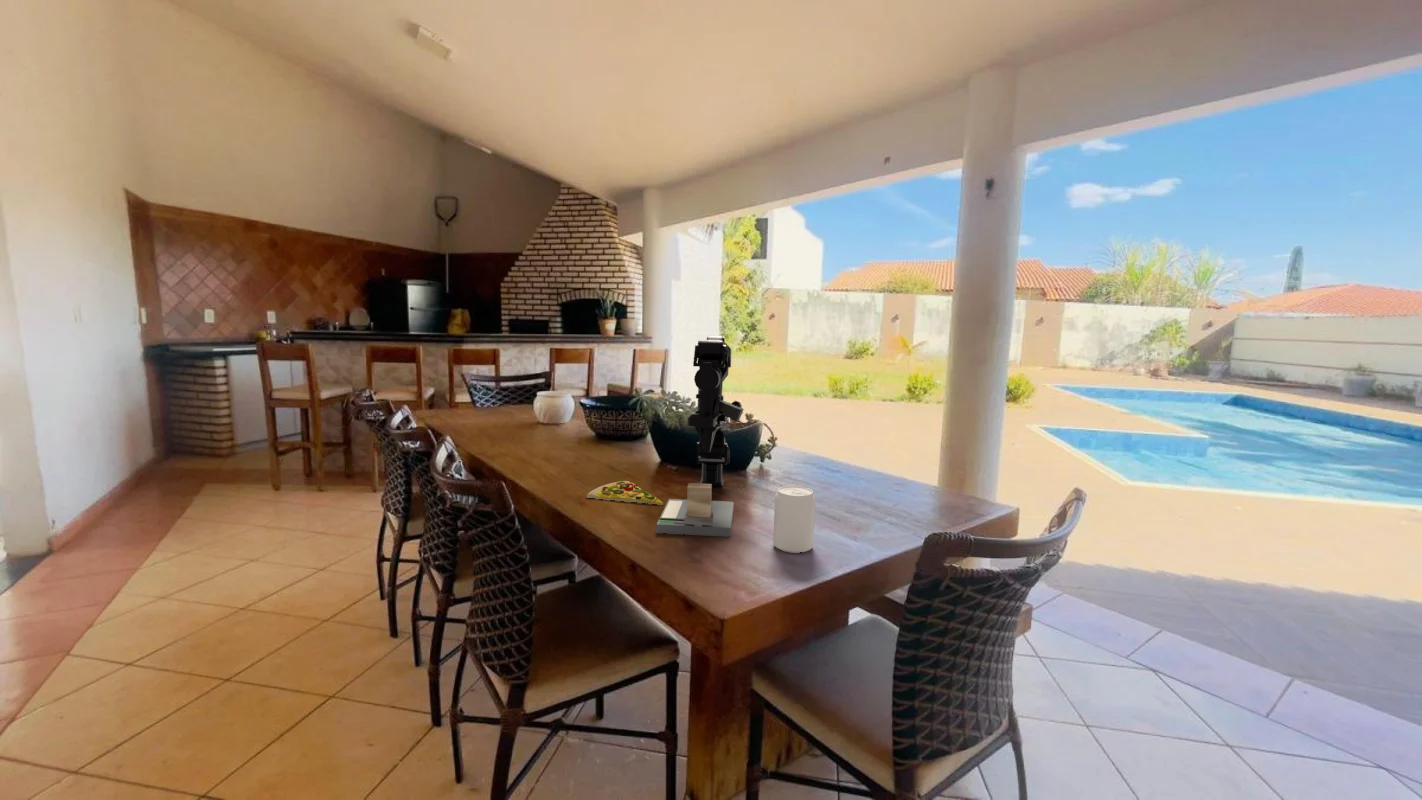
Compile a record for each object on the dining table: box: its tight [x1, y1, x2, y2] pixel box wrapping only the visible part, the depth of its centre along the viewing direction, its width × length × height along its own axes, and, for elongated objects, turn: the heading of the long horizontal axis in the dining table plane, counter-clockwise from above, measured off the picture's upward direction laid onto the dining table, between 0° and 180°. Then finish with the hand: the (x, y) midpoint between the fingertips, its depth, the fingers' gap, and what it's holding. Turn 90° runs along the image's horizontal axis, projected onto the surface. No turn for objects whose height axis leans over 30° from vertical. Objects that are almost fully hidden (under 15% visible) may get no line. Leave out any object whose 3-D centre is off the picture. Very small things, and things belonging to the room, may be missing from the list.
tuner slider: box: [659, 482, 714, 525], centre depth 124 cm, size 5×12×8 cm, turn 86°
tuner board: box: [656, 498, 735, 538], centre depth 132 cm, size 18×16×2 cm
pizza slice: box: [586, 480, 664, 506], centre depth 148 cm, size 16×21×3 cm
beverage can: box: [772, 485, 816, 554], centre depth 117 cm, size 8×8×12 cm
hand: (707, 452), depth 144 cm, fingers closed
